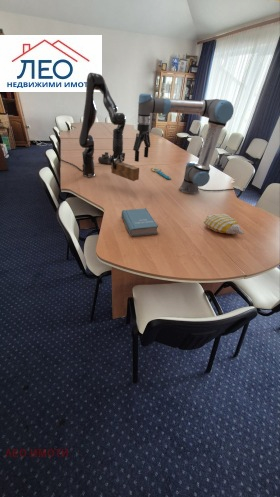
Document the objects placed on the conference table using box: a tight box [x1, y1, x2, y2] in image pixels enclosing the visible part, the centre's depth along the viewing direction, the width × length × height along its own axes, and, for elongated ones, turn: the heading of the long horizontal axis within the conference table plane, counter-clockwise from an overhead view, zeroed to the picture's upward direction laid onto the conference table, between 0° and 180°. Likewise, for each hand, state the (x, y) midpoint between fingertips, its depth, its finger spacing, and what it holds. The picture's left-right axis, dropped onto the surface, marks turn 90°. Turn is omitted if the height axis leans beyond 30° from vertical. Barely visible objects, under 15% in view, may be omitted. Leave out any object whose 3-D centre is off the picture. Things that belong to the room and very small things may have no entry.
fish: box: [203, 213, 245, 235], centre depth 133 cm, size 25×8×20 cm
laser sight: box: [97, 151, 119, 165], centre depth 229 cm, size 10×22×10 cm, turn 78°
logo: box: [150, 167, 172, 180], centre depth 216 cm, size 34×10×1 cm, turn 16°
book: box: [121, 207, 159, 237], centre depth 133 cm, size 23×16×5 cm
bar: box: [110, 161, 140, 182], centre depth 168 cm, size 23×6×9 cm, turn 50°
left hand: (117, 167), depth 172 cm, fingers closed on bar, 6 cm apart
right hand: (141, 159), depth 150 cm, fingers open, 13 cm apart
